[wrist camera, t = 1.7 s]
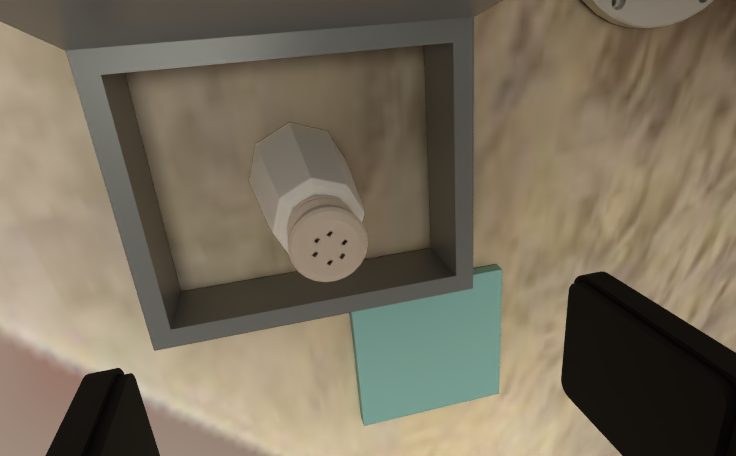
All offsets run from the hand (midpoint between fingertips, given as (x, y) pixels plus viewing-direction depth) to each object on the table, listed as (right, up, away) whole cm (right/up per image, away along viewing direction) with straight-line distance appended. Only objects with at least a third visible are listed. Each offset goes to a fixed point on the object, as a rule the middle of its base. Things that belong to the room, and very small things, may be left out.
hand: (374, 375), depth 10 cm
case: (-4, +6, +16) cm, 18 cm away
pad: (+4, -5, +22) cm, 23 cm away
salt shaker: (-4, +6, +16) cm, 18 cm away
